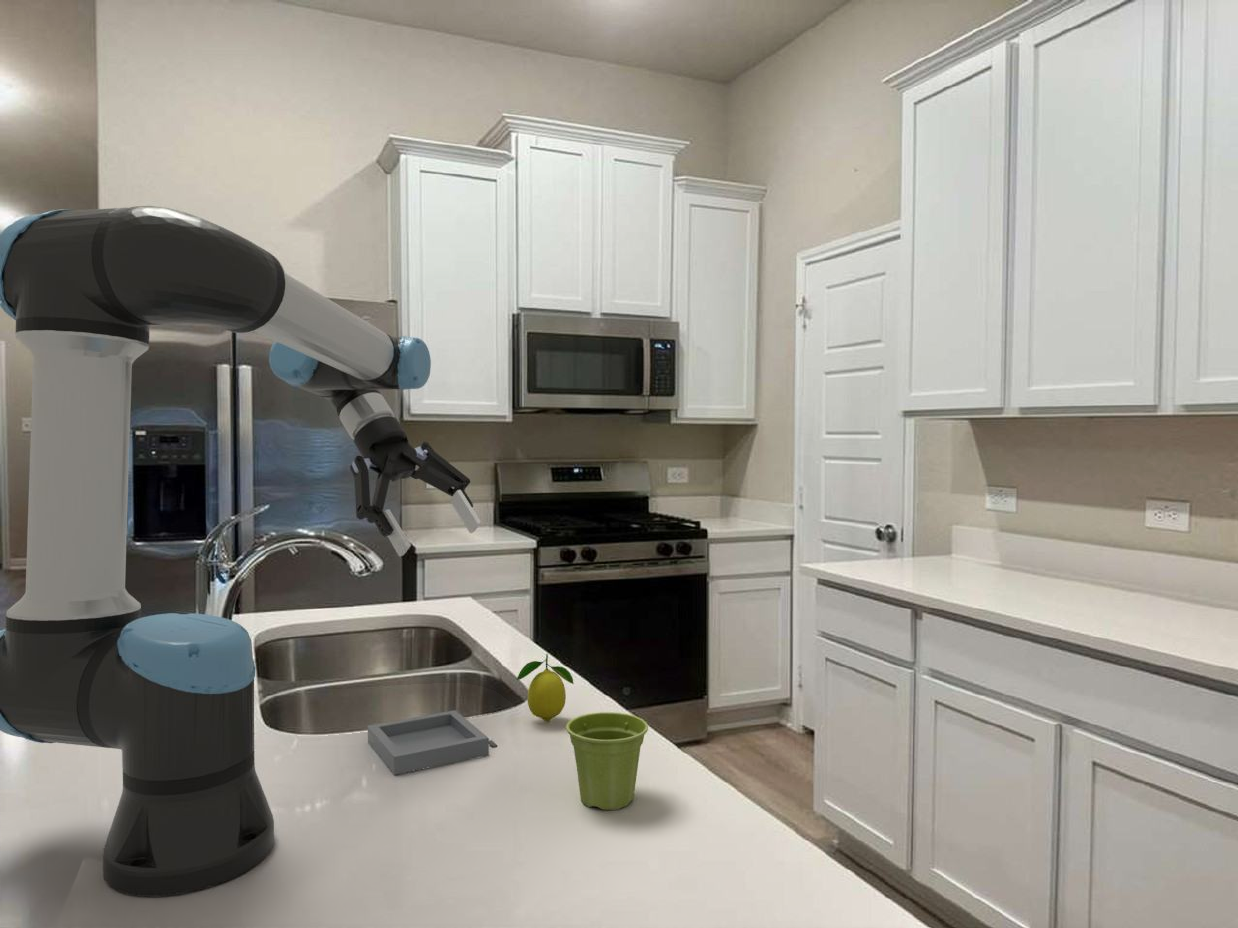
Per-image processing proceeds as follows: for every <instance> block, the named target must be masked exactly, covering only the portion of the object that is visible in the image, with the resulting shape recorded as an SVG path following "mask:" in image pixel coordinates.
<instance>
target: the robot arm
mask: <svg viewBox="0 0 1238 928" xmlns="http://www.w3.org/2000/svg"><path fill="white" fill-rule="evenodd" d="M0 307H1V309H2V311H4V313H6V315H8V316H9V317H10V318H12V319H13V320H14V321H15V339H17V340H18V341H19V342H20V343H21V344H22V345H23V346H24V347H25V348H26V349H27V350H28V351H29V352H30V353H31V355H32V357H33V358H32V359H33V361H32V383H31V384H32V389H31V390H32V391H31V415H30V416H31V418H30V423H31V425H30V445H29V446H30V447H29V448H30V449H29V475H28V477H29V478H28V482H29V484H28V508H27V511H28V512H27V513H28V514H27V533H26V534H27V538H26V539H27V540H26V541H27V542H26V569H25V593H24V594H23V596H22V597H21V598H20V599H19V600H18V601H16V602H15V603H14V604H13V605H12V606H11V607H10V608H8V609H7V610H6V615H5V628H4V629H2V630H0V731H1V732H2V733H4V734H7V735H10V736H13V737H17V738H24V739H25V740H28V741H32V742H35V743H39V744H40V743H41V744H44V743H45V744H47V743H48V744H54V743H55V744H56V743H57V744H65V745H75V746H83V747H84V746H85V747H96V748H105V749H114V750H115V749H116V750H120V751H121V757H122V758H121V759H122V760H121V763H122V766H121V767H122V768H121V769H122V793H121V795H120V799H119V802H118V804H117V807H116V811H115V814H114V815H113V816H114V817H113V819H112V823H111V825H110V829H109V830H108V831H109V832H108V834H107V837H106V841H105V844H104V847H103V851H102V878H103V881H104V882H105V883H106V885H107V886H108V887H109V888H111V889H113V890H114V891H117V892H119V893H122V894H126V895H131V896H138V897H139V896H140V897H141V896H142V897H162V896H163V897H164V896H165V897H166V896H173V895H178V894H179V895H181V894H185V893H190V892H195V891H199V890H203V889H206V888H210V887H213V886H216V885H219V884H222V883H225V882H227V881H229V880H232V879H233V878H236V877H238V876H240V875H242V874H244V873H246V872H247V871H249V870H251V869H253V868H254V867H256V866H257V865H258V864H260V863H261V861H263V860H264V859H265V858H267V856H268V855H269V853H270V852H271V851H272V849H273V847H274V843H275V822H274V819H275V818H274V814H273V812H272V809H271V806H270V805H269V802H268V800H267V797H266V794H265V792H264V789H263V787H262V784H261V782H260V779H259V776H258V773H257V772H256V766H255V677H256V665H255V661H254V655H253V643H252V638H251V637H250V634H249V631H248V630H247V629H246V628H245V627H244V626H242V625H241V623H239V622H237V621H234V620H232V619H229V618H225V617H221V616H218V615H212V614H204V613H194V612H193V613H185V614H182V613H177V612H176V613H173V612H172V613H171V612H170V613H161V614H160V613H159V614H154V615H149V616H144V617H142V615H141V614H142V605H141V603H140V602H139V601H138V600H137V599H136V598H135V597H133V595H131V594H130V593H129V592H128V590H127V589H126V570H127V569H126V567H127V564H126V563H127V538H128V537H127V536H128V535H127V534H128V506H129V505H128V503H129V501H128V498H129V497H128V496H129V494H128V493H129V470H130V469H129V468H130V466H129V465H130V435H131V433H130V432H131V401H132V374H133V373H132V370H133V368H132V367H133V364H134V363H135V361H136V360H137V359H138V358H139V357H140V356H142V355H143V354H144V353H146V352H147V351H149V350H150V349H149V348H150V330H151V329H150V327H151V326H154V325H155V326H156V325H169V324H170V325H174V324H175V325H177V324H191V325H195V324H196V325H208V326H209V325H210V326H214V327H220V328H222V329H224V330H225V331H228V332H231V333H234V334H243V335H244V334H250V333H256V334H259V335H261V336H263V337H265V338H267V339H270V340H271V341H274V342H273V343H272V345H271V347H270V351H269V355H268V357H269V358H268V363H269V367H270V369H271V371H272V373H273V374H274V375H275V376H276V377H277V378H279V379H280V380H282V381H284V382H286V383H287V384H289V385H290V386H292V387H297V388H299V389H301V390H304V391H306V392H309V393H311V394H314V395H316V396H319V397H321V398H324V399H326V400H327V402H329V404H330V406H331V407H332V409H333V410H334V412H335V414H336V415H337V417H338V419H339V420H340V421H341V423H342V425H343V426H344V428H345V430H346V431H347V433H348V435H349V436H350V438H351V439H352V440H353V443H354V445H355V447H356V449H357V450H358V452H359V454H360V455H356V457H355V458H354V460H353V461H352V463H351V464H350V466H349V469H350V471H351V473H352V475H353V478H354V497H355V516H356V518H357V519H358V520H361V521H362V520H364V519H366V520H367V522H368V523H370V524H373V523H374V524H375V526H376V527H377V529H378V530H379V533H380V534H381V535H382V536H383V537H384V538H385V537H387V538H388V540H389V542H390V544H391V545H392V547H393V549H394V550H395V551H396V554H397V555H398V557H402V556H404V555H405V554H406V553H407V551H408V550H409V549H410V548H411V546H412V544H411V543H410V541H409V540H408V538H407V536H406V535H405V533H404V531H403V530H402V528H401V526H400V525H399V523H398V521H397V520H396V518H395V516H394V515H393V512H392V511H391V510H390V508H389V509H385V510H384V507H385V503H386V498H387V493H388V489H389V485H390V481H391V482H397V481H399V480H400V479H401V480H403V479H409V478H410V477H411V478H412V479H413V480H421V481H422V482H424V483H426V484H428V485H430V486H432V487H434V488H435V489H437V490H439V491H441V492H443V493H445V494H446V495H449V496H450V499H449V502H450V503H451V506H452V507H453V508H454V510H455V512H456V513H457V514H458V517H460V520H461V521H462V522H463V524H464V526H465V527H466V529H467V531H468V532H469V534H472V533H474V532H475V531H476V530H477V529H478V528H479V526H481V524H482V521H481V520H480V518H479V517H478V515H477V513H476V512H475V510H474V509H473V507H474V504H473V502H472V501H471V499H470V497H469V495H468V494H467V492H466V489H467V487H468V486H469V485H470V483H471V479H470V478H469V477H467V475H465V474H463V472H461V471H460V470H459V469H458V468H456V467H455V466H453V465H452V464H451V463H450V462H449V461H447V460H446V459H445V458H443V457H442V456H441V455H439V453H437V452H436V451H435V450H434V449H433V447H432V446H431V445H430V443H428V442H426V441H423V442H422V444H420V446H417V447H414V446H412V445H411V444H410V443H409V440H408V435H407V433H406V432H405V429H404V428H403V426H402V425H401V423H400V422H399V420H398V419H397V418H396V417H395V413H394V411H393V410H392V408H391V407H390V405H389V404H388V403H387V401H386V400H385V398H384V396H383V395H382V393H381V392H380V390H384V391H385V390H387V391H388V390H389V391H390V390H395V391H396V390H397V391H398V390H399V391H401V392H402V391H405V390H417V389H418V390H419V389H421V388H423V387H424V386H425V385H426V384H427V383H428V381H429V378H430V374H431V368H432V367H431V364H432V360H431V354H430V351H429V348H428V346H427V344H426V343H425V341H424V340H423V339H421V338H419V337H413V336H411V337H410V336H406V335H404V336H403V335H402V336H398V337H397V336H392V335H390V334H388V333H386V332H385V331H383V330H381V329H379V328H378V327H376V326H375V325H373V324H371V323H369V322H368V321H366V320H364V319H363V318H361V317H359V316H358V315H356V314H354V313H353V312H351V311H349V310H348V309H346V308H344V307H343V306H341V305H339V304H338V303H336V302H335V301H333V300H331V299H329V298H327V297H326V296H325V295H323V294H321V293H320V292H318V291H316V290H314V289H313V288H311V287H309V286H307V285H306V284H304V283H302V282H301V281H299V280H298V279H296V278H294V277H292V276H291V275H289V274H287V273H286V272H285V268H284V266H283V264H282V263H281V261H280V260H279V259H278V258H277V257H276V256H274V255H273V254H272V253H271V252H269V251H267V250H265V249H264V248H263V247H261V246H259V245H257V244H256V243H254V242H252V241H251V240H249V239H247V238H244V237H243V236H241V235H239V234H237V233H235V232H233V231H231V230H229V229H227V228H224V226H221V225H218V224H217V223H213V222H212V221H209V220H206V219H204V218H202V217H199V216H196V215H193V214H190V213H188V212H185V211H180V210H177V209H173V208H169V207H168V208H167V207H161V206H155V205H138V206H136V205H135V206H130V207H114V208H98V209H97V208H94V209H74V210H70V209H65V208H64V209H54V210H49V211H46V212H43V213H40V214H31V215H27V216H24V217H21V218H19V219H17V220H15V221H14V222H13V223H11V224H9V225H8V226H6V227H5V228H4V229H3V230H2V232H0ZM416 467H418V468H417V469H416ZM369 469H370V470H371V471H373V472H374V473H376V474H377V475H376V476H377V477H376V482H375V488H374V493H373V497H372V501H371V493H370V492H371V491H370V478H369V477H370V476H369V475H370V474H369ZM383 510H384V511H383Z"/></svg>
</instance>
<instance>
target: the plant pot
mask: <svg viewBox="0 0 1238 928" xmlns="http://www.w3.org/2000/svg"><path fill="white" fill-rule="evenodd" d="M648 729H649V725H648V722H647V721H645V719H642V718H641V717H638V716H636V715H633V714H629V713H622V712H615V711H613V712H610V711H609V712H608V711H606V712H605V711H604V712H603V711H602V712H601V711H600V712H592V713H586V714H582V715H581V714H580V715H579V716H576V717H574V718H572V719H570V720H569V721H568V722H567V723H566V725H565V730H566V732H567V734H568V735H569V737H570V743H571V744H572V747H573V752H574V757H575V758H574V759H575V765H576V773H577V779H578V788H579V795H580V801H581V803H583V804H584V805H585V806H587V807H589V808H590V807H591V808H592V807H597V808H599V809H600V810H605V811H611V810H618V809H622V808H625V807H627V806H629V804H630V803H631V801H633V800H634V796H635V790H636V784H637V783H636V782H637V775H638V770H639V769H638V768H639V761H640V754H641V753H640V752H641V747H642V744H643V743H644V738H645V735H646V734H647V732H648Z"/></svg>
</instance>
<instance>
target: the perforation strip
mask: <svg viewBox="0 0 1238 928" xmlns="http://www.w3.org/2000/svg"><path fill="white" fill-rule="evenodd" d="M482 733H483V734H485V733H484V732H482ZM489 744H490V745H491V746H492V747H491V746H490V745H489V746H490V747H491V748H497V747H498V743H497V744H496V742H494V741H493V740H489Z"/></svg>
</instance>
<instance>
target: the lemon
mask: <svg viewBox="0 0 1238 928" xmlns="http://www.w3.org/2000/svg"><path fill="white" fill-rule="evenodd" d="M545 656H546V657H545V659H544V660H543V661H537V660H534V661H530V662H528V663H526V664H525V665H524V666H523V667H522V668H521V670H520V672H519V673H518V675H517V677H516V681H518V680H519V681H520V680H522V679H524V678H526V677H527V676H529V675H530V674H531V673H532V672H534V671H535V670H537V669H538V668H539V667H540V666H541V665H542V664H544V663H545V669H544V670H543V671H540V672H538V673H536V675H535V676H534V677H533V678H532V680H531V682H530V684H529V686H528V690H527V698H526V699H527V705H528V709H529V711H530V712H531V714H532V715H533V716H535V717H537V718H539V719H542V720H543V721H544V722H545V723H550V722H551V720H552V719H553V718H556V717H557V716H559V715H560V714H561V712H562V711H563V709H564V707H565V705H566V699H567V698H566V695H567V694H566V693H567V692H566V687H565V684H564V682H563V679H564V680H565V681H566V682H567V683H570V684H572V685H574V679H573V675H572V674H571V673H570V671H569V670H568V669H566V667H563V666H559V665H556V666H551V665H549V664H548V660H549V659H548V658H549V657H548V656H549V654H548V653H546V654H545ZM548 667H550V668H549V669H548ZM550 669H551V670H552V671H551V670H550Z"/></svg>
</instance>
